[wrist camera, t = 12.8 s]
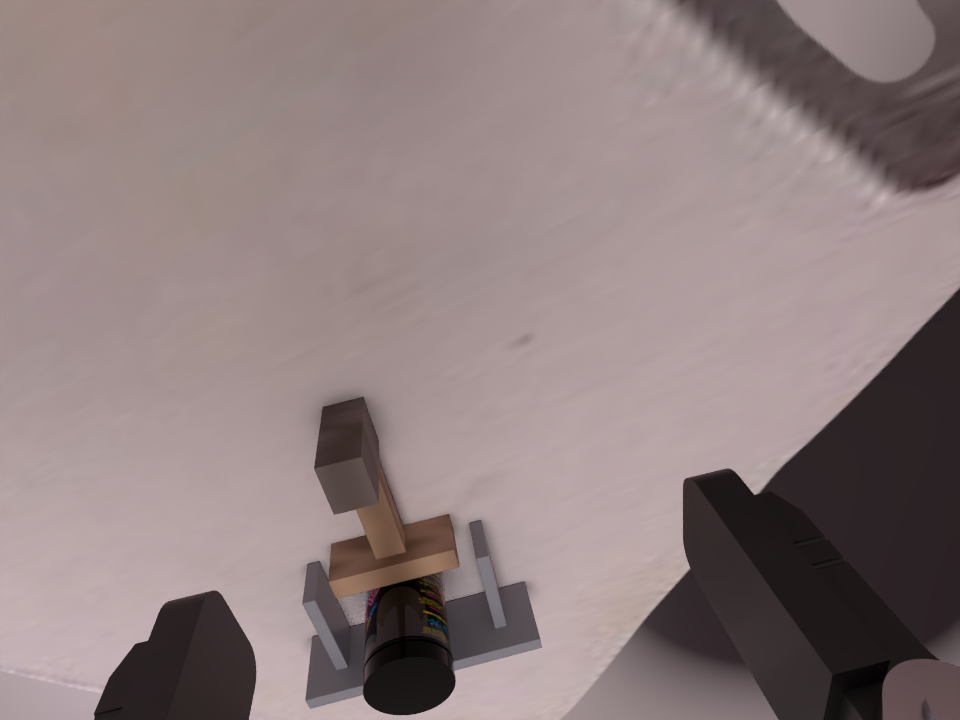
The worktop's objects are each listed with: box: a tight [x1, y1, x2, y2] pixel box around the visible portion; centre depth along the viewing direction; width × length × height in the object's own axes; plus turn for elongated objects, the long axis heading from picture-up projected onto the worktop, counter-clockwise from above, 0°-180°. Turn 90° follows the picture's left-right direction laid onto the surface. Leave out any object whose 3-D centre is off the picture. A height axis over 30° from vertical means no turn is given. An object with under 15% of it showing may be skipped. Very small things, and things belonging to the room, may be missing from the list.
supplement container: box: [363, 572, 456, 715], centre depth 47 cm, size 7×7×10 cm
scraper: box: [314, 397, 459, 599], centre depth 43 cm, size 10×15×7 cm, turn 11°
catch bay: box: [302, 520, 542, 709], centre depth 50 cm, size 20×10×6 cm, turn 101°
